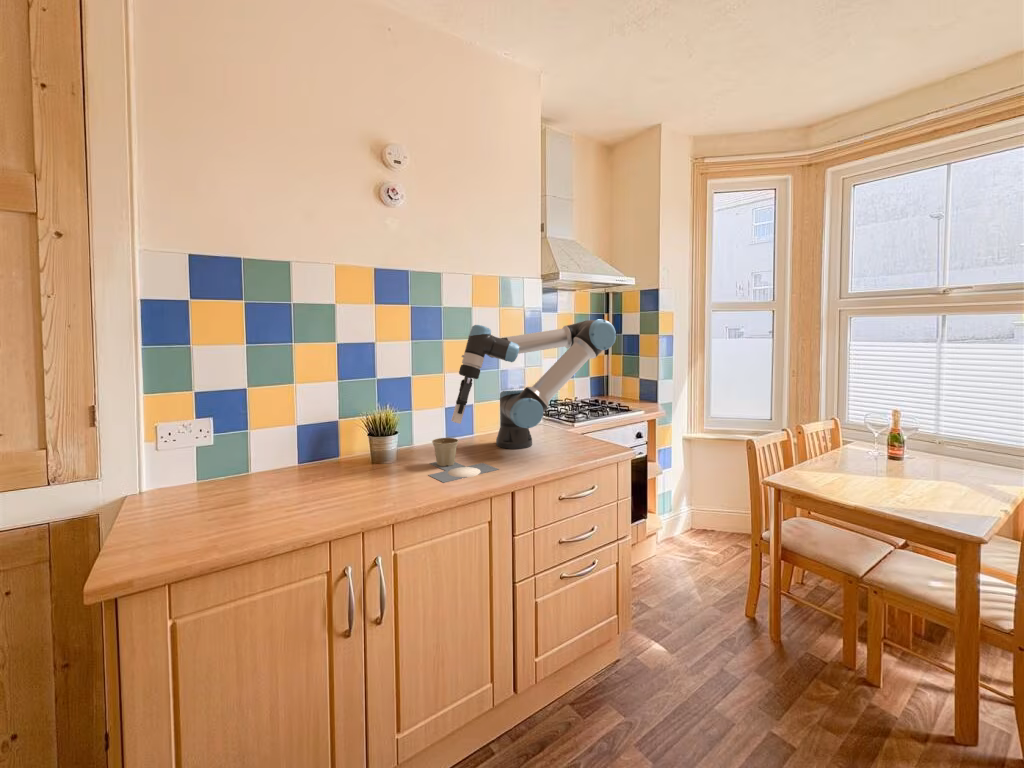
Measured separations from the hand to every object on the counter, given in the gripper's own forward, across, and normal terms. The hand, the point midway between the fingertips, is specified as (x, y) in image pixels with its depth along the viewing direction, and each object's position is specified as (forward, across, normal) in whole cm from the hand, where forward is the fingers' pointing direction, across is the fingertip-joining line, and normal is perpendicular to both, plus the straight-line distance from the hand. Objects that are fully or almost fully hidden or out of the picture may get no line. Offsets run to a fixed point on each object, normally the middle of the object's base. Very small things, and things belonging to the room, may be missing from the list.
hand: (455, 422), depth 169 cm
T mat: (+16, +7, +4) cm, 18 cm away
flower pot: (+15, +2, +1) cm, 16 cm away
